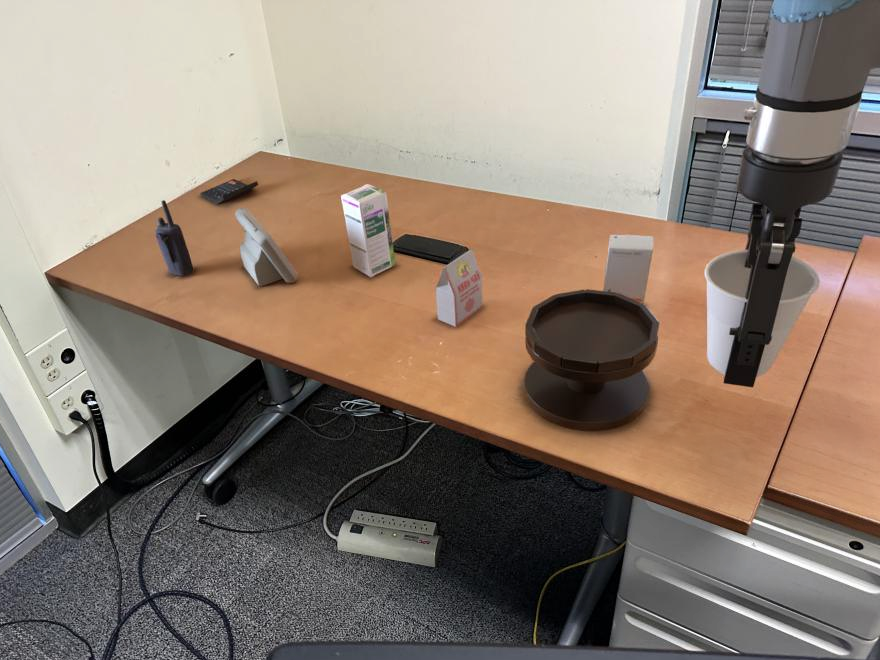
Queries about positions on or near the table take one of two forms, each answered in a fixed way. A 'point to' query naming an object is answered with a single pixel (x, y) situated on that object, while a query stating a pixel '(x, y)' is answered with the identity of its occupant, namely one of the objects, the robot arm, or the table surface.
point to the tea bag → (459, 290)
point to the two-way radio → (173, 245)
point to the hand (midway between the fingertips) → (739, 356)
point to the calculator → (227, 191)
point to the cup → (729, 299)
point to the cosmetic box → (628, 265)
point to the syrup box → (369, 229)
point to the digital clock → (262, 253)
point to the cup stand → (589, 359)
